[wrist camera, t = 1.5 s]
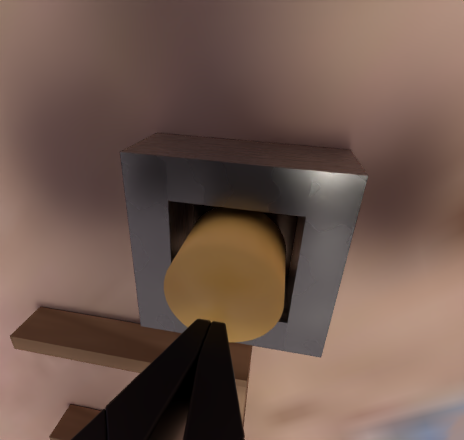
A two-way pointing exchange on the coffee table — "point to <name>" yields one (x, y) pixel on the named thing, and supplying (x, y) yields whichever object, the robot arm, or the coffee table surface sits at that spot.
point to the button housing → (246, 198)
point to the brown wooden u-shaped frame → (107, 352)
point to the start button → (230, 273)
